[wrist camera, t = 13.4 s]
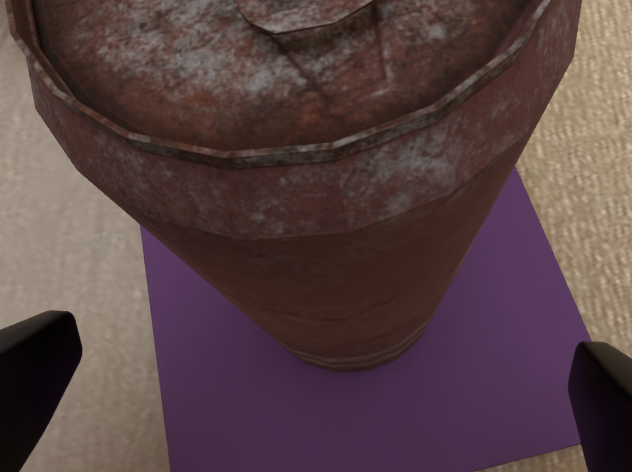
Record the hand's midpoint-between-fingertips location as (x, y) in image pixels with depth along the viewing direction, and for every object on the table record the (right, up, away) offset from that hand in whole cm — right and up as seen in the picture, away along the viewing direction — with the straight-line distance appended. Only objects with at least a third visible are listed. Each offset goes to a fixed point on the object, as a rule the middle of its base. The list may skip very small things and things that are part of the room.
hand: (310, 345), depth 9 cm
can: (+1, 0, +9) cm, 9 cm away
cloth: (+1, +1, +9) cm, 9 cm away
